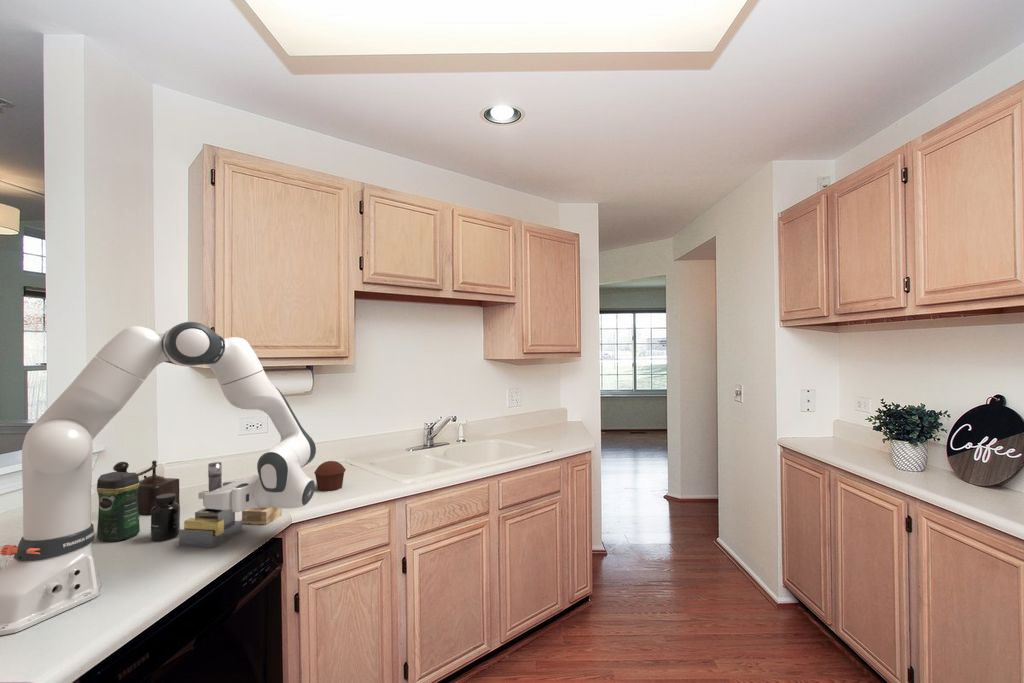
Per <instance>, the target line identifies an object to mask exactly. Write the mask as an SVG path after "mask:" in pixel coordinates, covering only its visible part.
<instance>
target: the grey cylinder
mask: <svg viewBox="0 0 1024 683" xmlns="http://www.w3.org/2000/svg"><path fill="white" fill-rule="evenodd" d="M222 466H223V465H222V462H221V461H216V462H210V463H208V466H207V468H208V469H207V470H208V472H207V473H208V474H207V477H208V492H211V491H213V490H216V489H218V488H220V487H223V482H222V475H223V473H222V472H223V469H222V468H223V467H222ZM209 511H210V512H218V511H220V510H217V509H209Z"/></svg>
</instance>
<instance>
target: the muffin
mask: <svg viewBox="0 0 1024 683" xmlns="http://www.w3.org/2000/svg"><path fill="white" fill-rule="evenodd" d="M346 471H347V469H346V468H345V466H343V464H341V463H340V462H339V461H336V460H328V461H324V462H322V463H320V464H319V466H318V467H317V468H316V469H315V471H314V472H313V473H314V476H315V480H316V486H317V491H319V490H320V492H328V491H329V492H333V491H338V490H341V489H342V488H343V482H344V476H345V472H346Z"/></svg>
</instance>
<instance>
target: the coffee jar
mask: <svg viewBox="0 0 1024 683" xmlns="http://www.w3.org/2000/svg"><path fill="white" fill-rule="evenodd" d="M139 478H140V477H139V476H138V473H136V472H128V471H127V472H116V471H112V472H108V473H103V474H101V475H100V476H99V477H98V478H97V480H96V481H97V483H96V492H97V495H98V496H97V497H98V513H97V514H98V515H97V516H98V519H97V528H96V537H97V539H98V540H99V541H103V542H105V541H107V542H118V541H121V540H126V539H131V538H133V537H134V536H136V535H138V534H139V532H141V531H140V527H141V526H140V517H139V516H140V515H139V514H138V500H137V493H138V487H139V481H140V479H139Z"/></svg>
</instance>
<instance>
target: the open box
mask: <svg viewBox="0 0 1024 683" xmlns="http://www.w3.org/2000/svg"><path fill="white" fill-rule="evenodd" d="M282 512H283V511H282V509H279V508H275V507H268V508H252V509H247V510H244V511H241V521H242V523H245V524H244V525H249V524H248V523H251V524H250V525H258V524H264V526H266V525H269V524H270V523H271V522H273V521H275V520H277V519H278V518H280V517H282V516H283V514H282ZM246 523H247V524H246Z"/></svg>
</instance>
